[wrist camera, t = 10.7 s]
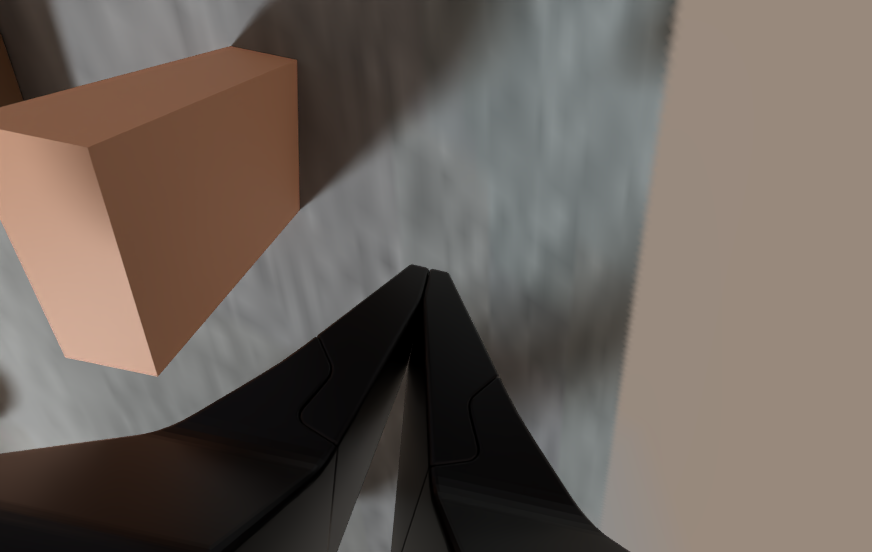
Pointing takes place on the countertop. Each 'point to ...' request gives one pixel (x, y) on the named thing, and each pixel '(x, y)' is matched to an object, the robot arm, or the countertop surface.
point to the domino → (7, 79)
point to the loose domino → (149, 198)
